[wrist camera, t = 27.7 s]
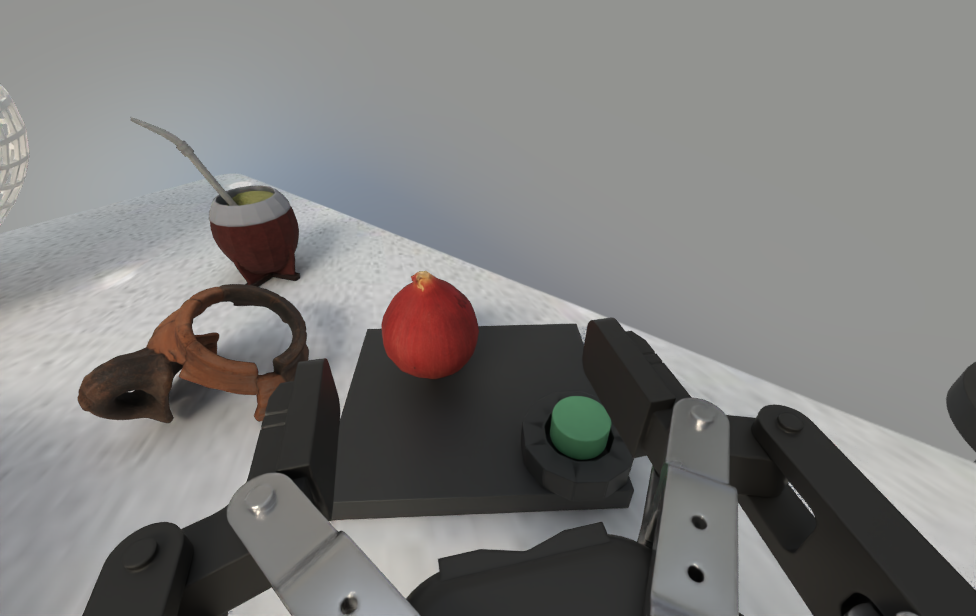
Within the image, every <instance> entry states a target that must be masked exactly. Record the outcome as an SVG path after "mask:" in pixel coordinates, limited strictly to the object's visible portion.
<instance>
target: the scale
mask: <svg viewBox="0 0 976 616" xmlns="http://www.w3.org/2000/svg"><path fill="white" fill-rule="evenodd" d="M478 329H479V334H478V340H477V344H476V347H475V350H474V353H473V355H472V356H471V358H470V359H469V361H468V362H467V363H466V364H465V365H464V366H463V367H462V368H461V369H460V370H459V371H458V372H456V373H454V374H452V375H449V376H446V377H443V378H438V379H428V378H419V377H415V376H413V375H410V374H408V373H405V372H403V371H401V370H400V369H399V367H398V366H397V365H396V364H395V363H394V362H393V361H392V360H391V359H390V358H389V357H388V356H387V354H386V351H385V348H384V344H383V337H382V329H367V332H366V336H365V339H364V342H363V346H362V349H361V352H360V356H359V359H358V362H357V366H356V369H355V372H354V376H353V379H352V382H351V386H350V389H349V392H348V396H347V399H346V402H345V406H344V409H343V412H342V416H341V419H340V424H339V437H338V449H337V462H336V475H335V488H334V500H333V513H332V520H341V519H366V518H390V517H414V516H438V515H462V514H486V513H510V512H535V511H559V510H583V509H607V508H628V507H629V504H630V501H631V498H632V495H633V492H634V489H633V486H632V483H631V480H630V477H629V473H630V470H631V467H632V464H633V460H634V458H633V457H632V455H631V454H630V452H629V450H628V448H627V447H626V445H625V443H624V441H623V440H622V438H621V436H620V434H619V433H618V431H617V429H616V427H615V426H614V424H613V422H612V420H611V428H610V432H609V436H608V440H607V444H606V447H605V449H604V451H603V452H602V453H601V454H600V455H598V456H597V457H595V458H592V459H588V460H578V459H573V458H570V457H568V456H566V455H564V454H562V453H561V452H560V451H559V450H558V449H557V448H556V447H555V446H554V444H553V442H552V440H551V437H550V427H551V419H552V412H553V409H554V407H555V405H556V404H557V403H558V402H559V401H560V400H562V399H564V398H567V397H570V396H583V397H588V398H591V399H593V400H595V401H597V402H598V403H600V404H601V405H602V403H601V401H600V399H599V398H598V396H597V394H596V392H595V391H594V389H593V387H592V385H591V384H590V382H589V380H588V378H587V376H586V374H585V372H584V369H583V363H582V356H583V350H584V344H583V342H582V339H581V336H580V333H579V330H578V327H577V324H546V325H508V326H478ZM602 406H603V405H602ZM603 407H604V406H603Z"/></svg>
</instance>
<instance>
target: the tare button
mask: <svg viewBox="0 0 976 616" xmlns="http://www.w3.org/2000/svg"><path fill="white" fill-rule="evenodd" d="M610 428H611V419H610V417H609V415H608V413H607V412H606V410H605V408H604V407H603V406H602V405H601V404H600V403H598V402H597V401H595V400H593V399H591V398H588V397H583V396H570V397H567V398H564V399H562V400H560V401H559V402H558V403H557V404H556V405H555V407H554V409H553V412H552V419H551V427H550V437H551V440H552V442H553V444H554V446H555V447H556V448H557V449H558V450H559V451H560V452H561V453H562V454H564V455H566V456H568V457H570V458H573V459H578V460H588V459H592V458H595V457H597V456H598V455H600V454H601V453H602V452H603V451H604V449H605V447H606V444H607V440H608V436H609V432H610Z"/></svg>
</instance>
